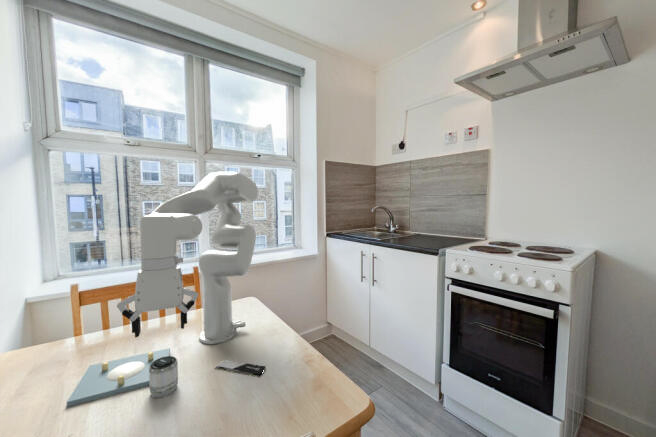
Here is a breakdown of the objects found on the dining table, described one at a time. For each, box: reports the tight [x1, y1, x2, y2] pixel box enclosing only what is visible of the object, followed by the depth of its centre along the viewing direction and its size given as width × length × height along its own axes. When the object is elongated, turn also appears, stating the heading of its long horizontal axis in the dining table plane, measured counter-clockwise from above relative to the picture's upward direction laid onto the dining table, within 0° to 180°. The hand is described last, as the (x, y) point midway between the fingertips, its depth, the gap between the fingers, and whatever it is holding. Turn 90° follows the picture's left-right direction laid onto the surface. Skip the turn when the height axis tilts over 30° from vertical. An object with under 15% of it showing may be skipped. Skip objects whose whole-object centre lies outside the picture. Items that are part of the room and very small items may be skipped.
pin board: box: [66, 347, 171, 408], centre depth 74 cm, size 20×16×3 cm
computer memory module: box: [214, 359, 267, 378], centre depth 77 cm, size 15×1×4 cm
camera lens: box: [148, 355, 179, 399], centre depth 68 cm, size 6×6×8 cm
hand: (161, 330), depth 67 cm, fingers open, 9 cm apart
